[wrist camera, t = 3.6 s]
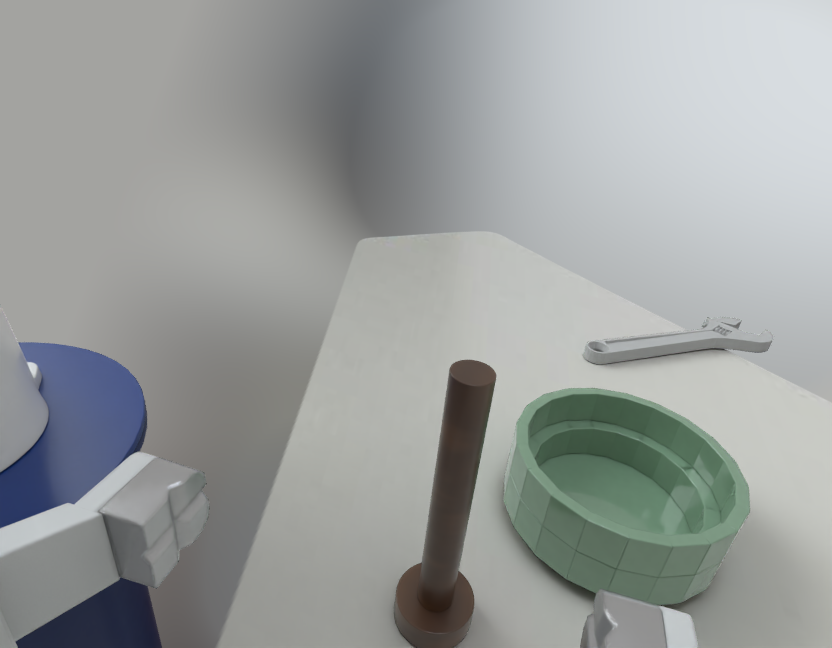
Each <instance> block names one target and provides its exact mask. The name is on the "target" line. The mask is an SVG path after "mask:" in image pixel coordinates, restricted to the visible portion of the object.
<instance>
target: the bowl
mask: <svg viewBox="0 0 832 648" xmlns="http://www.w3.org/2000/svg"><path fill="white" fill-rule="evenodd" d="M504 503H505V505H506V508H507V511H508V514H509V516H510V519H511V522H512V524H513V526H514V528H515V529H516V531H517V532H518V533H519V534H520V536H521V537H522V538H523V540H524V541H525V542H526V544H527V545H528V546H529V548H530V549H531V550H532V551H533V553H534V554H535V555H536V556H537V557H538V558H540V559H541V560H542V561H543V562H545V563H546V564H547V565H548V566H550V567H551V568H552V569H553V570H555V571H556V572H557V573H558V574H560V575H561V576H562V577H564V578H565V579H567V580H569V581H571V582H573V583H575V584H577V585H579V586H581V587H583V588H585V589H588V590H590V591H592V592H594V593H596V594H597V592H598V591H599V590H600V589H601V588H602V589H605V590H609V591H612V592H616V593H619V594H623V595H627V596H630V597H634V598H637V599H641V600H644V601H648V602H651V603H655V604H657V605H665V604H677V603H682V602H683V601H685V600H687V599H689V598H691V597H693V596H695V595H697V594H698V593H700V592H702V591H704V590H706V589H707V587H708V586H709V584H710V583H711V581H712V579H713V578H714V576H715V574H716V573H717V571H718V569H719V568H720V566H721V564H722V562H723V560H724V559H725V557H726V555H727V553H728V551H729V549H730V548H731V546H732V544H733V542H734V540H735V539H736V537H737V535H738V533H739V531H740V530H741V528H742V526H743V524H744V522H745V520H746V519H747V517H748V515H749V513H750V499H749V487H748V484H747V482H746V480H745V478H744V477H743V475H742V473H741V471H740V469H739V467H738V465H737V463H736V462H735V460H734V459H733V458H732V457H731V456H730V455H729V454H728V453H727V452H726V451H725V450H724V448H723V447H722V446H721V445H720V444H719V443H718V442H717V441H716V440H715V439H713V437H711V436H710V435H709V434H707V433H706V432H705V431H703V430H702V429H700V428H699V427H698V426H696V425H695V424H693V423H692V422H691V421H689V420H688V419H686V418H685V417H683V416H681V415H679V414H677V413H675V412H673V411H671V410H669V409H667V408H665V407H663V406H661V405H659V404H656V403H654V402H651V401H648V400H645V399H642V398H639V397H636V396H633V395H630V394H627V393H626V394H625V393H621V392H615V391H609V390H604V389H598V388H568V389H563V390H559V391H555V392H551V393H547V394H544V395H542V396H541V397H539V398H537V399H536V400H534V401H533V402H531V403H530V404H528V405H527V406H526V408H525V409H524V411H523V413H522V414H521V416H520V418H519V419H518V421H517V423H516V428H515V432H514V436H513V441H512V445H511V449H510V454H509V459H508V463H507V467H506V472H505V476H504Z"/></svg>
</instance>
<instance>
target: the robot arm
mask: <svg viewBox="0 0 832 648" xmlns="http://www.w3.org/2000/svg"><path fill="white" fill-rule="evenodd" d="M41 379H42V375H41V372H40V370H39V368H38V366H37V365H36V364H35V363H32V362H26V359H25V357H24V355H23V353H22V350H21V348H20V346H19V344H18V342H17V339H16V337H15V335H14V333H13V331H12V329H11V326H10V324H9V322H8V320H7V318H6V316H5V314H4V311H3V310H2V307H1V305H0V472H1V471H3V470H5V469H6V468H7V467H9V466H10V465H12V464H13V463H14V462H15V461H17V460H18V459H19V458H20V457H22V456H23V455H24V454H25V453H26V452H27V451H28V450H29V449H30V448H31V447H32V446H33V445H34V444H35V443H36V441H37V440H38V439H39V438H40V436H41V435H42V433H43V431H44V430H45V427H46V425H47V422H48V418H49V410H48V406H47V404H46V402H45V400H44V399H43V397H42V396H41V394H40V392H39V390H38V389H39V387H40V383H41ZM206 484H207V483H206V478H205V473H204V472H202V471H199V470H196V469H193V468H190V467H187V466H184V465H181V464H178V463H175V462H172V461H169V460H166V459H163V458H160V457H157V456H153V455H150V454H147V453H143V452H137V453H134V454H132V455H130V456H129V457H128V458H127V459H126V460H124V461H123V462H122V463H121V464H120V465H119V466H117V467H116V468H115V469H114V470H113V471H112V472H111V473H109V474H108V475H107V476H106V477H105V478H104V479H103V480H101V481H100V482H99V483H98V484H97V485H96V486H95V487H93V488H92V489H91V490H90V491H89V492H88V493H87V494H85V495H84V496H83V497H82V498H81V499H80V500H79V501H77V502H76V503H75V504H71V503H66V504H63V505H61V506H58V507H55V508H53V509H50V510H47V511H45V512H42V513H40V514H37V515H34V516H32V517H29V518H26V519H24V520H21V521H18V522H16V523H13V524H10V525H8V526H5V527H2V528H0V648H18V647H17V645H16V642H15V641H17V640H19V639H20V638H22V637H24V636H25V635H27V634H29V633H30V632H32V631H34V630H35V629H37V628H39V627H41V626H42V625H44V624H46V623H47V622H49V621H51V620H52V619H54V618H56V617H57V616H59V615H61V614H62V613H64V612H66V611H67V610H69V609H71V608H73V607H74V606H76V605H78V604H79V603H81V602H83V601H84V600H86V599H88V598H89V597H91V596H93V595H94V594H96V593H98V592H100V591H101V590H103V589H105V588H106V587H108V586H110V585H111V584H113V583H115V582H116V581H118V580H119V579H120V578H119V577H121V578H125V579H128V580H131V581H134V582H137V583H140V584H144V585H147V586H150V587H153V588H156V589H157V588H158V586H159V585H160V584H161V583H162V582H163V580H164V579H165V578H166V577H167V575H168V574H169V573H170V572H171V570H172V569H173V568H174V567H175V565H176V564H177V563H178V562H179V550H181V549H183V548H185V547H187V546H189V545H191V544H193V543H194V542H195V540H196V539H197V537H198V536H199V535H200V534H201V532H202V530H203V528H204V526H205V524H206V522H207V519H208V515H209V509H210V508H209V499H208V498H207V497H206V495H205V494H204V492H203V491H202V489H203V488H204V486H205V485H206ZM580 648H699V647H698V642H697V637H696V632H695V627H694V622H693V620H692V618H691V616H690V615H689V614H687V613H683V612H680V611H677V610H673V609H670V608H666V607H663V606H660V605H657V604H655V603H651V602H648V601H644V600H641V599H637V598H634V597H630V596H627V595H623V594H619V593H616V592H612V591H609V590H605V589H602V588H601V589H600V590H599V591H598V592H597V594H596V597H595V599H594V613H593V614H591V615H589V616H588V617H587V620H586V623H585V625H584V629H583V634H582V639H581V645H580Z"/></svg>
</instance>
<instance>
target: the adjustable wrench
mask: <svg viewBox="0 0 832 648" xmlns="http://www.w3.org/2000/svg"><path fill="white" fill-rule="evenodd" d="M741 321H742V320H740V319H736V318H728V317H719V318H712V319H711V318H707V320H706V322H703V324H702V327H704V328H702V329H697V330H687V331H678V332H669V333H659V334H650V335H641V336H632V337H622V338H613V339H604V340H594V341H589V342H587V344H586V347H585V351H584V354H583V356H584V358H585V359H586V360H588V361H589V362H591V363H595V364H607V363H614V362H621V361H627V360H634V359H641V358H648V357H654V356H661V355H668V354H674V353H681V352H688V351H694V350H701V349H708V348H722V349H733V350H741V351H748V352H757V353H759V352H765V351H767V350H768V349H769V347H770V344H771V343H772V340H773V334H772V333H771V332H770V331H768V330H765V331H764V332H762V333H761V334H760V335H757V334H753V333H747V332H744V331H741V330H739V329H738V328H739V325H740V323H741Z"/></svg>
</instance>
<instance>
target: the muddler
mask: <svg viewBox="0 0 832 648" xmlns="http://www.w3.org/2000/svg"><path fill="white" fill-rule="evenodd" d="M495 381H496V373H495V371H494V370H493V369H492V368H491V367H490V366H489V365H487V364H485V363H482V362H479V361H475V360H461V361H458V362H455V363H454V364H452V365H451V367H450V370H449V377H448V384H447V391H446V398H445V405H444V412H443V419H442V426H441V433H440V440H439V447H438V454H437V461H436V468H435V475H434V482H433V489H432V496H431V503H430V509H429V516H428V523H427V530H426V537H425V544H424V551H423V558H422V563H419V564H417V565H415V566H413V567H411V568H410V569H408V570H407V571H406V572H405V573H404V574H403V575H402V577H401V578H400V580H399V583H398V585H397V590H396V598H395V606H394V616H395V621H396V624H397V627H398V629H399V630H400V632H401V634H402V635H403V636H404V637H405V638H406V639H407V640H408V641H409V642H410V643H411V644H413V645H414V646H416V647H418V648H452V647H454V646H456V645H457V644H458V643H460V642H461V641H462V640H463V639H464V637H465V636H466V634H467V632H468V630H469V626H470V622H471V618H472V614H473V609H474V595H473V591H472V588H471V586H470V584H469V582H468V581H467V579H466V578H465V577H464V576H463V575H462V573H460V572H459V566H460V561H461V556H462V550H463V545H464V540H465V535H466V530H467V525H468V520H469V515H470V509H471V504H472V499H473V494H474V489H475V484H476V479H477V474H478V468H479V463H480V458H481V453H482V448H483V443H484V438H485V432H486V427H487V422H488V417H489V412H490V407H491V402H492V397H493V391H494V386H495Z"/></svg>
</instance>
